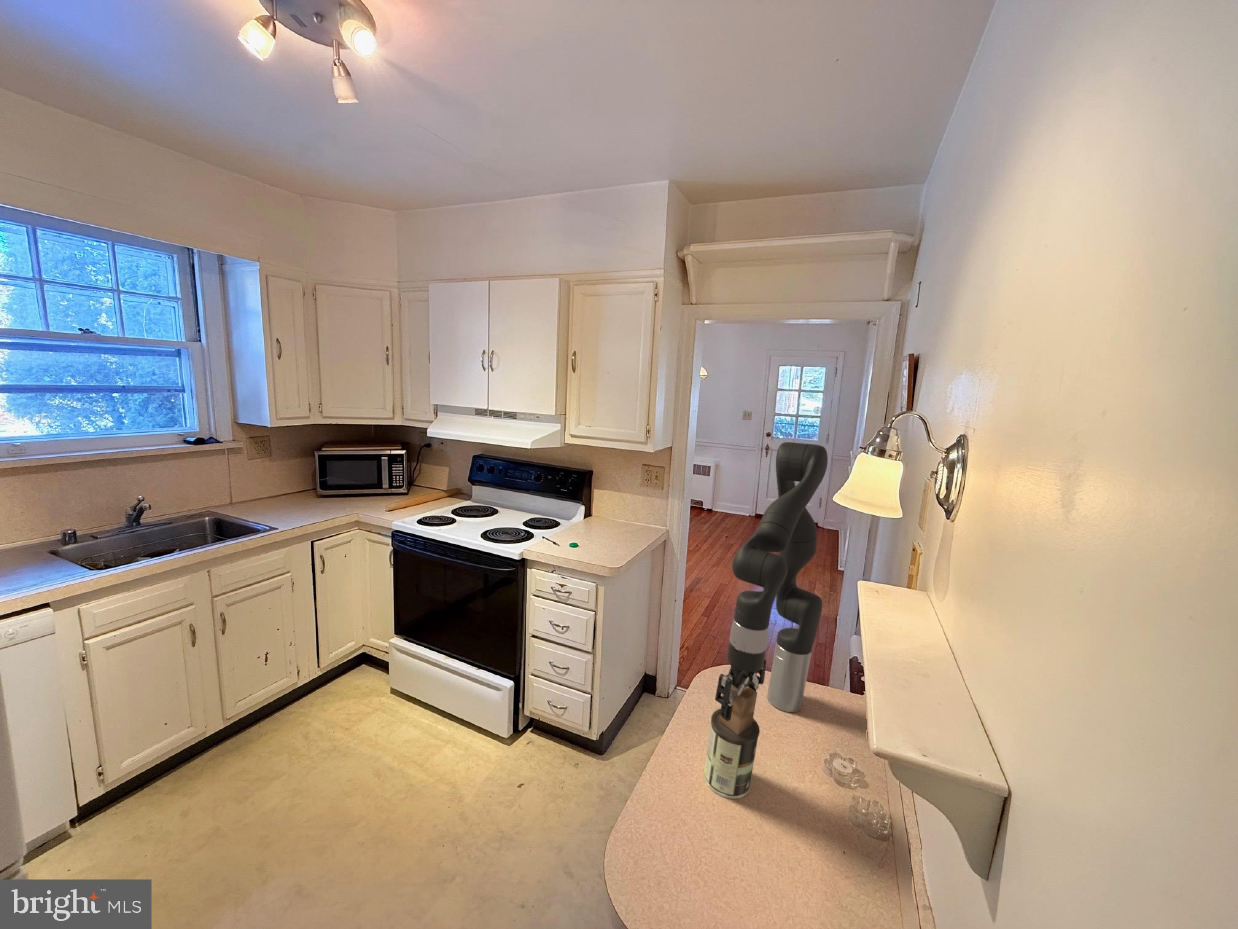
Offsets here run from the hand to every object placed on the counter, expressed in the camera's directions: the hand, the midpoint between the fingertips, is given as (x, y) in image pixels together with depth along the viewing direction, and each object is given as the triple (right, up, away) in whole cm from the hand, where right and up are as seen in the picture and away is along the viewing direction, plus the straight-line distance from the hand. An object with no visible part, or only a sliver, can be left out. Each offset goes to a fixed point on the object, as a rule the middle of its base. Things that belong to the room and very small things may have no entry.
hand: (737, 710), depth 105 cm
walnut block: (0, -3, +1) cm, 3 cm away
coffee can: (-2, -17, +3) cm, 17 cm away
